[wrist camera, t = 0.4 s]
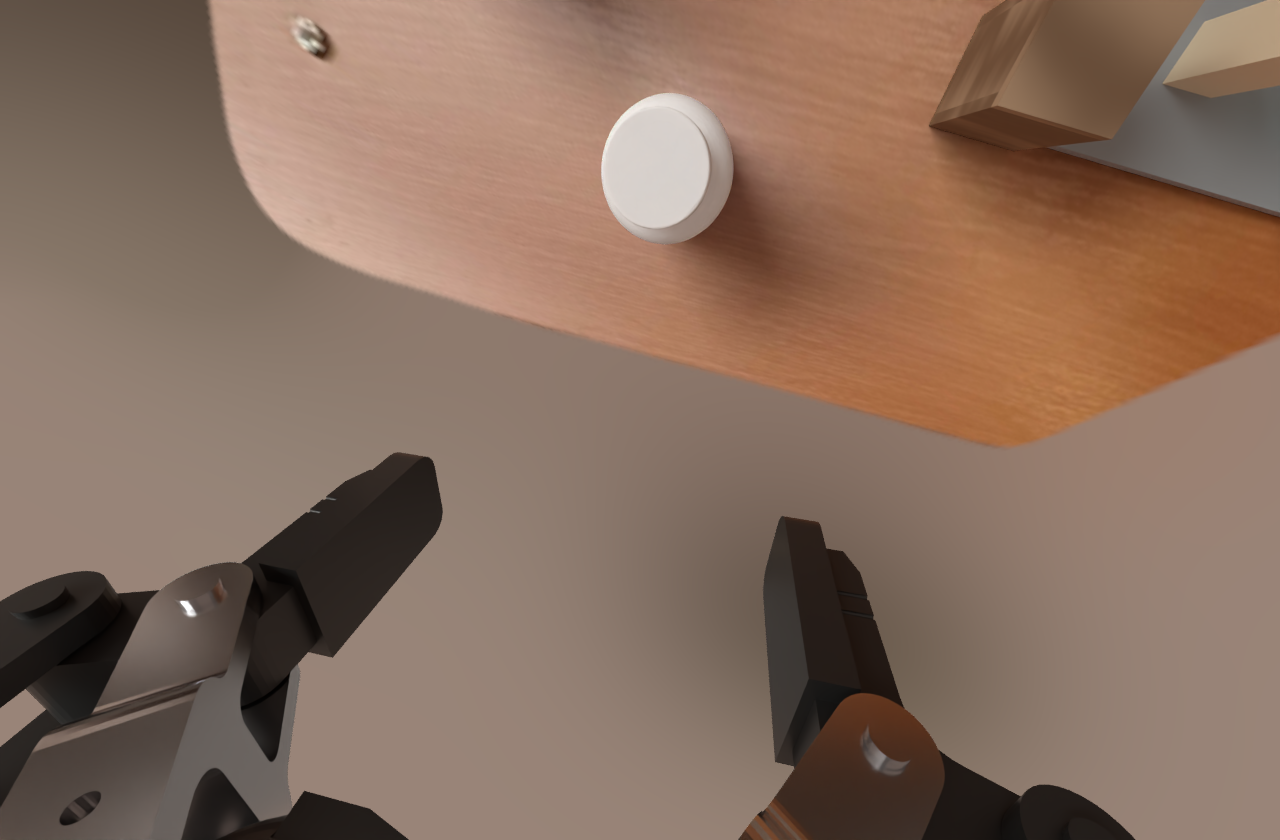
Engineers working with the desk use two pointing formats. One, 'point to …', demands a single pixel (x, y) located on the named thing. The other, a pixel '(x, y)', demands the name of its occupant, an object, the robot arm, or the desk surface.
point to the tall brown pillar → (1059, 69)
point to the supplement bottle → (667, 168)
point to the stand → (1209, 110)
